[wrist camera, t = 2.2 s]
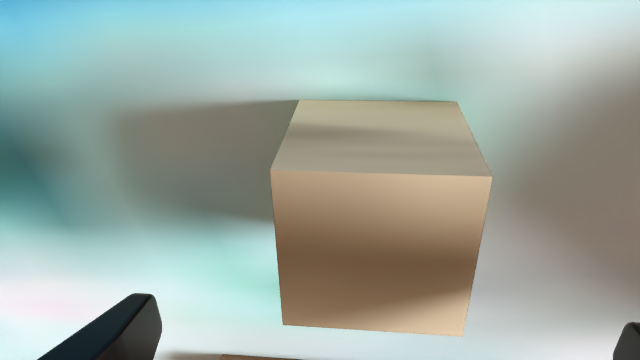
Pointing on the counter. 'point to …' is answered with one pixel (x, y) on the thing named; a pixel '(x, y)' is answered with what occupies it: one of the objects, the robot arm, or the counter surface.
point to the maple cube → (378, 215)
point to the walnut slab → (249, 358)
